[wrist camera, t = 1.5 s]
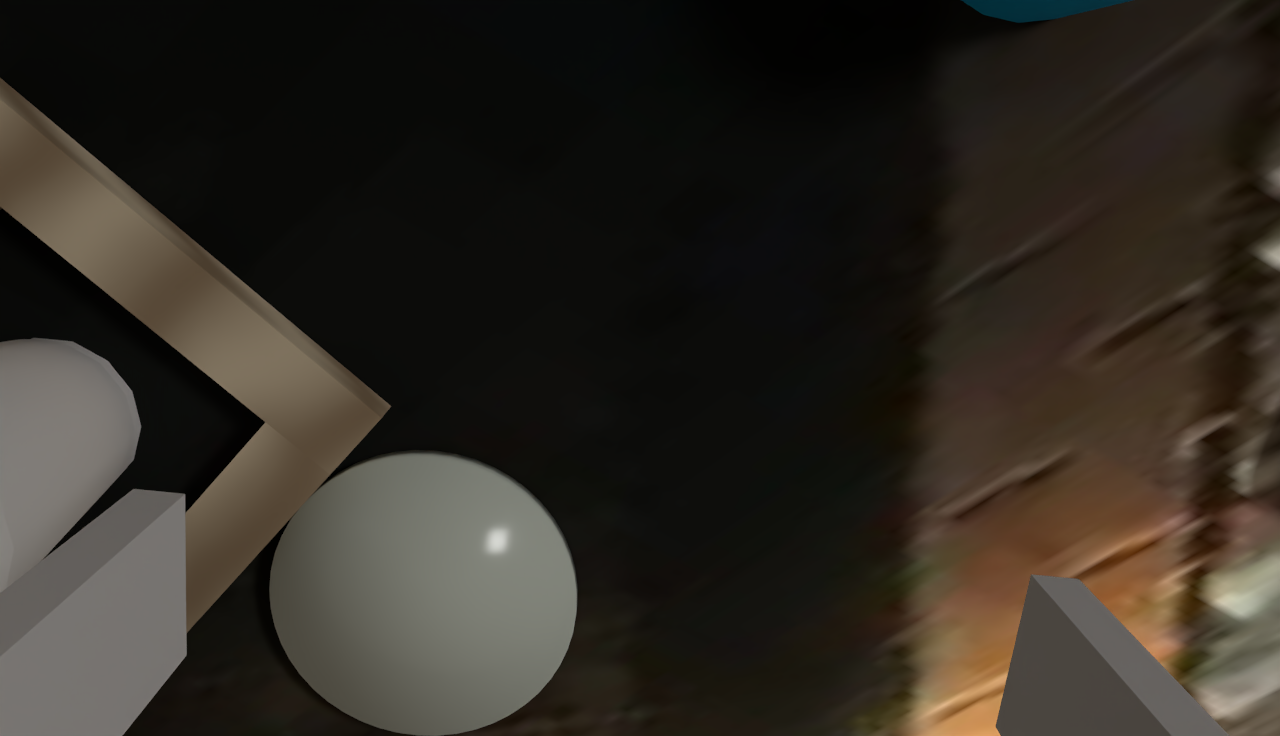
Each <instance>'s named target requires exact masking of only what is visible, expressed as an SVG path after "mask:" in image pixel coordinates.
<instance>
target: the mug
mask: <svg viewBox="0 0 1280 736" xmlns="http://www.w3.org/2000/svg"><path fill="white" fill-rule="evenodd" d="M961 1H963V2H964V3H966V4H968V5H969V6H971V7H972V8H974V9H975V10H977V11H978V12H980V13H981V14H983V15H987V16H991V17H995V18H999V19H1004V20H1008V21H1012V22H1016V23H1022V22H1031V21H1040V20H1050V19H1057V18H1061V17H1065V16H1069V15H1073V14H1078V13H1082V12H1086V11H1090V10H1094V9H1099V8H1103V7H1107V6H1111V5H1115V4H1120V3H1124V2H1128V1H1132V0H961Z"/></svg>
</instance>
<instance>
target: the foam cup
mask: <svg viewBox="0 0 1280 736" xmlns="http://www.w3.org/2000/svg"><path fill="white" fill-rule="evenodd" d="M140 430H141V424H140V420H139V416H138V412H137V408H136V404H135V401H134V397H133V393H132V390H131V389H130V388H129V387H128V385H127V384H126V383H125V382H124V380H123V379H122V378H121V377H120V376H119V374H118V373H117V372H116V371H115V369H114V368H113V367H112V366H111V364H110V363H109V362H108V361H107V360H105V359H104V358H102V357H100V356H98V355H96V354H94V353H93V352H91V351H89V350H87V349H85V348H83V347H82V346H80V345H78V344H76V343H74V342H72V341H62V340H52V339H41V338H32V339H29V340H28V339H19V340H12V341H5V342H0V593H1V592H2V591H3V590H5V589H6V588H7V587H9V586H10V585H11V584H12V583H14V582H15V581H16V580H18V579H19V578H20V577H21V576H23V575H24V574H25V573H27V572H28V571H29V570H30V569H32V568H33V567H34V566H36V565H37V564H38V563H39V562H41V560H42V559H43V558H44V557H45V556H46V555H47V554H48V553H49V552H50V551H51V550H52V549H53V548H54V546H55V545H56V544H57V543H58V542H59V541H60V540H61V539H62V538H63V537H64V536H65V535H66V533H67V532H68V531H69V530H70V529H71V528H72V527H73V526H74V525H75V524H76V523H77V522H78V520H79V519H80V518H81V517H82V516H83V515H84V514H85V513H86V512H87V511H88V510H89V509H90V507H91V506H92V505H93V504H94V503H95V502H96V501H97V500H98V499H99V498H100V497H101V496H102V494H103V493H104V492H105V491H106V490H107V489H108V488H109V487H110V486H111V485H112V483H113V482H114V481H115V480H116V479H117V478H118V477H119V476H120V475H121V474H122V472H123V471H124V470H125V469H126V468H127V467H128V465H129V464H130V463H131V462H132V461H133V460H134V456H135V452H136V447H137V443H138V438H139V434H140Z"/></svg>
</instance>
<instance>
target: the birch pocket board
mask: <svg viewBox="0 0 1280 736" xmlns="http://www.w3.org/2000/svg"><path fill="white" fill-rule="evenodd" d="M2 208H3V209H4V210H5V211H6V212H8V213H9V214H10V215H11V216H12V217H14V218H15V219H16V220H17V221H19V222H20V223H21V224H22V225H24V226H25V227H26V228H27V229H28V230H30V231H31V232H32V233H33V234H35V235H36V236H37V237H38V238H40V239H41V240H42V241H43V242H44V243H46V244H47V245H48V246H49V247H51V248H52V249H53V250H54V251H56V252H57V253H58V254H59V255H60V256H62V257H63V258H64V259H65V260H67V261H68V262H69V263H70V264H72V265H73V266H74V267H75V268H76V269H78V270H79V271H80V272H81V273H83V274H84V275H85V276H86V277H88V278H89V279H90V280H91V281H92V282H94V283H95V284H96V285H97V286H99V287H100V288H101V289H102V290H104V291H105V292H106V293H107V294H108V295H110V296H111V297H112V298H113V299H115V300H116V301H117V302H118V303H120V304H121V305H122V306H123V307H124V308H126V309H127V310H128V311H129V312H131V313H132V314H133V315H134V316H136V317H137V318H138V319H139V320H140V321H142V322H143V323H144V324H145V325H147V326H148V327H149V328H150V329H152V330H153V331H154V332H155V333H156V334H158V335H159V336H160V337H161V338H163V339H164V340H165V341H166V342H167V343H169V344H170V345H171V346H172V347H174V348H175V349H176V350H177V351H179V352H180V353H181V354H182V355H183V356H185V357H186V358H187V359H188V360H190V361H191V362H192V363H193V364H195V365H196V366H197V367H198V368H199V369H201V370H202V371H203V372H204V373H206V374H207V375H208V376H209V377H211V378H212V379H213V380H214V381H215V382H217V383H218V384H219V385H220V386H222V387H223V388H224V389H225V390H227V391H228V392H229V393H230V394H231V395H233V396H234V397H235V398H236V399H238V400H239V401H240V402H241V403H243V404H244V405H245V406H246V407H247V408H249V409H250V410H251V411H252V412H254V413H255V414H256V415H257V416H259V417H260V418H261V419H262V420H263V421H265V423H264V425H263V426H262V427H261V428H260V429H259V430H258V431H257V433H256V434H255V435H254V436H253V437H252V438H251V439H250V441H249V442H248V443H247V444H246V445H245V446H244V447H243V448H242V450H241V451H240V452H239V453H238V454H237V455H236V456H235V458H234V459H233V460H232V461H231V462H230V463H229V464H228V466H227V467H226V468H225V469H224V470H223V471H222V472H221V474H220V475H219V476H218V477H217V478H216V479H215V480H214V481H213V483H212V484H211V485H210V486H209V487H208V488H207V489H206V491H205V492H204V493H203V494H202V495H201V496H200V497H199V499H198V500H197V501H196V502H195V503H194V504H193V505H192V506H191V508H190V509H189V510H188V511H187V512H186V513H185V537H186V633H187V632H188V631H189V630H190V629H191V628H192V626H193V625H194V624H195V623H196V622H197V621H198V620H199V619H200V618H201V617H202V615H203V614H204V613H205V612H206V611H207V610H208V609H209V608H210V607H211V605H212V604H213V603H214V602H215V601H216V600H217V599H218V598H219V597H220V596H221V594H222V593H223V592H224V591H225V590H226V589H227V588H228V587H229V586H230V585H231V583H232V582H233V581H234V580H235V579H236V578H237V577H238V576H239V575H240V574H241V572H242V571H243V570H244V569H245V568H246V567H247V566H248V565H249V564H250V562H251V561H252V560H253V559H254V558H255V557H256V556H257V555H258V554H259V553H260V551H261V550H262V549H263V548H264V547H265V546H266V545H267V544H268V543H269V542H270V540H271V539H272V538H273V537H274V536H275V535H276V534H277V533H278V532H279V531H280V529H281V528H282V527H283V526H284V525H285V524H286V523H287V522H288V521H289V519H290V518H291V517H292V516H293V515H294V514H295V513H296V512H297V511H298V510H299V508H300V507H301V506H302V505H303V504H304V503H305V502H306V501H307V500H308V499H309V497H310V496H311V495H312V494H313V493H314V492H315V491H316V490H317V489H318V488H319V486H320V485H321V484H322V483H323V482H324V481H325V480H326V479H327V478H328V476H329V475H330V474H331V473H332V472H333V471H334V470H335V469H336V468H337V467H338V465H339V464H340V463H341V462H342V461H343V460H344V459H345V458H346V457H347V456H348V454H349V453H350V452H351V451H352V450H353V449H354V448H355V447H356V446H357V445H358V443H359V442H360V441H361V440H362V439H363V438H364V437H365V436H366V435H367V433H368V432H369V431H370V430H371V429H372V428H373V427H374V426H375V425H376V424H377V422H378V421H379V420H380V419H381V418H382V417H383V416H384V414H385V413H386V412H387V411H388V410H389V408H390V407H391V406H390V405H389V404H388V403H387V402H385V401H384V400H383V399H382V398H381V397H379V396H378V395H377V394H376V393H375V392H373V391H372V390H371V389H370V388H369V387H368V386H366V385H365V384H364V383H363V382H362V381H360V380H359V379H358V378H357V377H356V376H354V375H353V374H352V373H351V372H350V371H348V370H347V369H346V368H345V367H344V366H343V365H341V364H340V363H339V362H338V361H337V360H335V359H334V358H333V357H332V356H331V355H329V354H328V353H327V352H326V351H325V350H323V349H322V348H321V347H320V346H319V345H318V344H316V343H315V342H314V341H313V340H312V339H310V338H309V337H308V336H307V335H306V334H304V333H303V332H302V331H301V330H300V329H299V328H297V327H296V326H295V325H294V324H293V323H291V322H290V321H289V320H288V319H287V318H285V317H284V316H283V315H282V314H281V313H279V312H278V311H277V310H276V309H275V308H274V307H272V306H271V305H270V304H269V303H268V302H266V301H265V300H264V299H263V298H262V297H260V296H259V295H258V294H257V293H256V292H254V291H253V290H252V289H251V288H250V287H249V286H247V285H246V284H245V283H244V282H243V281H241V280H240V279H239V278H238V277H237V276H235V275H234V274H233V273H232V272H231V271H229V270H228V269H227V268H226V267H225V266H224V265H222V264H221V263H220V262H219V261H218V260H216V259H215V258H214V257H213V256H212V255H210V254H209V253H208V252H207V251H206V250H204V249H203V248H202V247H201V246H200V245H199V244H197V243H196V242H195V241H194V240H193V239H191V238H190V237H189V236H188V235H187V234H185V233H184V232H183V231H182V230H181V229H180V228H178V227H177V226H176V225H175V224H174V223H172V222H171V221H170V220H169V219H168V218H166V217H165V216H164V215H163V214H162V213H160V212H159V211H158V210H157V209H156V208H155V207H153V206H152V205H151V204H150V203H149V202H147V201H146V200H145V199H144V198H143V197H141V196H140V195H139V194H138V193H137V192H135V191H134V190H133V189H132V188H131V187H130V186H128V185H127V184H126V183H125V182H124V181H122V180H121V179H120V178H119V177H118V176H116V175H115V174H114V173H113V172H112V171H110V170H109V169H108V168H107V167H106V166H105V165H103V164H102V163H101V162H100V161H99V160H97V159H96V158H95V157H94V156H93V155H91V154H90V153H89V152H88V151H87V150H85V149H84V148H83V147H82V146H81V145H80V144H78V143H77V142H76V141H75V140H74V139H72V138H71V137H70V136H69V135H68V134H66V133H65V132H64V131H63V130H62V129H60V128H59V127H58V126H57V125H56V124H55V123H53V122H52V121H51V120H50V119H49V118H47V117H46V116H45V115H44V114H43V113H41V112H40V111H39V110H38V109H37V108H36V107H34V106H33V105H32V104H31V103H30V102H28V101H27V100H26V99H25V98H24V97H22V96H21V95H20V94H19V93H18V92H16V91H15V90H14V89H13V88H12V87H11V86H9V85H8V84H7V83H6V82H5V81H3V80H2V79H1V78H0V210H1V209H2Z"/></svg>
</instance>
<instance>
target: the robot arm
mask: <svg viewBox="0 0 1280 736" xmlns="http://www.w3.org/2000/svg"><path fill="white" fill-rule="evenodd" d="M186 655H187V648H186V537H185V494H181V493H170V492H160V491H149V490H139V489H133V490H132V491H131V492H129V493H128V494H127V495H125V496H124V497H123V498H122V499H120V500H119V501H118V502H116V503H115V504H114V505H113V506H111V507H110V508H109V509H107V510H106V511H105V512H104V513H102V514H101V515H100V516H98V517H97V518H96V519H95V520H93V521H92V522H91V523H89V524H88V525H87V526H86V527H84V528H83V529H82V530H80V531H79V532H78V533H77V534H75V535H74V536H73V537H71V538H70V539H69V540H68V541H66V542H65V543H64V544H62V545H61V546H60V547H59V548H57V549H56V550H55V551H53V552H52V553H51V554H50V555H48V556H47V557H46V558H44V559H43V560H42V561H41V562H39V563H38V564H37V565H36V566H34V567H33V568H32V569H30V570H29V571H28V572H27V573H25V574H24V575H23V576H21V577H20V578H19V579H18V580H16V581H15V582H14V583H12V584H11V585H10V586H9V587H7V588H6V589H5V590H3V591H2V592H1V593H0V736H122V735H123V734H124V733H125V732H126V730H127V729H128V728H129V727H130V725H131V724H132V723H133V722H134V720H135V719H136V718H137V717H138V715H139V714H140V713H141V712H142V710H143V709H144V708H145V707H146V705H147V704H148V703H149V702H150V700H151V699H152V698H153V697H154V695H155V694H156V693H157V692H158V690H159V689H160V688H161V687H162V685H163V684H164V683H165V682H166V680H167V679H168V678H169V677H170V675H171V674H172V673H173V672H174V670H175V669H176V668H177V667H178V665H179V664H180V663H181V662H182V660H183V659H184V658H185V657H186ZM996 728H997V730H998V731H999V733H1000V735H1001V736H1229V735H1228V734H1227V733H1226V732H1225V731H1224V730H1223V729H1222V728H1221V727H1220V725H1219V724H1218V723H1217V722H1216V721H1215V720H1214V719H1213V718H1212V717H1211V716H1210V715H1209V714H1208V713H1207V712H1206V711H1205V710H1204V709H1203V708H1202V707H1201V706H1200V705H1199V704H1198V703H1197V702H1196V701H1195V699H1194V698H1193V697H1192V696H1191V695H1190V694H1189V693H1188V692H1187V691H1186V690H1185V689H1184V688H1183V687H1182V686H1181V685H1180V684H1179V683H1178V682H1177V681H1176V680H1175V679H1174V678H1173V677H1172V676H1171V675H1170V674H1169V672H1168V671H1167V670H1166V669H1165V668H1164V667H1163V666H1162V665H1161V664H1160V663H1159V662H1158V661H1157V660H1156V659H1155V658H1154V657H1153V656H1152V655H1151V654H1150V653H1149V652H1148V651H1147V650H1146V649H1145V648H1144V647H1143V645H1142V644H1141V643H1140V642H1139V641H1138V640H1137V639H1136V638H1135V637H1134V636H1133V635H1132V634H1131V633H1130V632H1129V631H1128V630H1127V629H1126V628H1125V627H1124V626H1123V625H1122V624H1121V623H1120V622H1119V621H1118V620H1117V618H1116V617H1115V616H1114V615H1113V614H1112V613H1111V612H1110V611H1109V610H1108V609H1107V608H1106V607H1105V606H1104V605H1103V604H1102V603H1101V602H1100V601H1099V600H1098V599H1097V598H1096V597H1095V596H1094V595H1093V594H1092V593H1091V591H1090V590H1089V589H1088V588H1087V587H1086V586H1085V585H1084V584H1083V583H1082V582H1081V581H1080V580H1079V579H1072V578H1061V577H1051V576H1040V575H1031V578H1030V582H1029V586H1028V590H1027V595H1026V599H1025V603H1024V608H1023V612H1022V616H1021V620H1020V625H1019V629H1018V633H1017V638H1016V642H1015V646H1014V650H1013V655H1012V659H1011V663H1010V668H1009V672H1008V676H1007V680H1006V685H1005V689H1004V693H1003V698H1002V702H1001V706H1000V710H999V715H998V719H997V723H996Z"/></svg>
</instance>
